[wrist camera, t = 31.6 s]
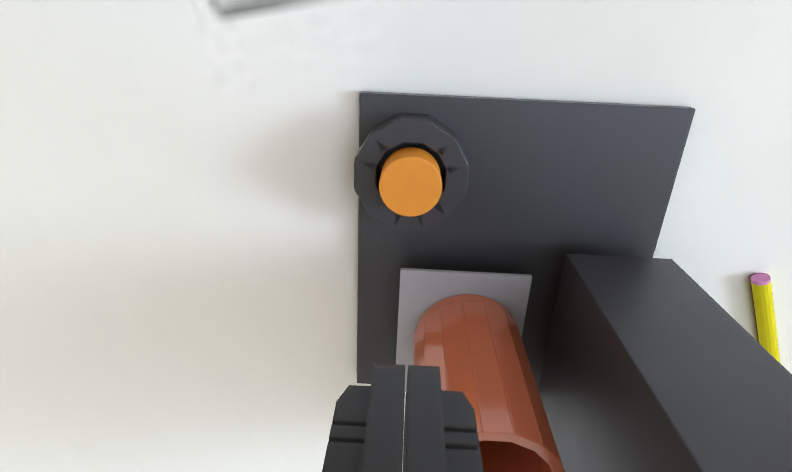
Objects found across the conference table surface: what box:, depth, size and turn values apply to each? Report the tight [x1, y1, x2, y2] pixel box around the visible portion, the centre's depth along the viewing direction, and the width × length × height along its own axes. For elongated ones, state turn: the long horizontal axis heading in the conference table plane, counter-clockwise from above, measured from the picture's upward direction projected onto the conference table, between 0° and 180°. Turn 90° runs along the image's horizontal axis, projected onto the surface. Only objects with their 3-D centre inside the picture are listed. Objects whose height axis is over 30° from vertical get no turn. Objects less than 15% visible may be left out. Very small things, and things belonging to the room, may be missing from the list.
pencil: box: [751, 273, 780, 363], centre depth 33 cm, size 16×1×1 cm, turn 22°
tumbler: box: [413, 294, 565, 472], centre depth 25 cm, size 6×6×10 cm
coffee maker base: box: [354, 91, 695, 388], centre depth 30 cm, size 18×20×3 cm
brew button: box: [379, 147, 442, 216], centre depth 26 cm, size 3×3×2 cm
